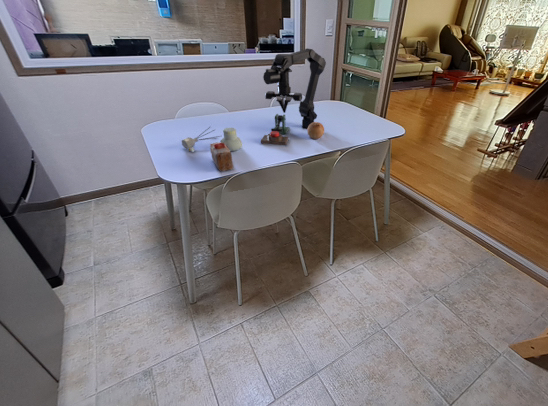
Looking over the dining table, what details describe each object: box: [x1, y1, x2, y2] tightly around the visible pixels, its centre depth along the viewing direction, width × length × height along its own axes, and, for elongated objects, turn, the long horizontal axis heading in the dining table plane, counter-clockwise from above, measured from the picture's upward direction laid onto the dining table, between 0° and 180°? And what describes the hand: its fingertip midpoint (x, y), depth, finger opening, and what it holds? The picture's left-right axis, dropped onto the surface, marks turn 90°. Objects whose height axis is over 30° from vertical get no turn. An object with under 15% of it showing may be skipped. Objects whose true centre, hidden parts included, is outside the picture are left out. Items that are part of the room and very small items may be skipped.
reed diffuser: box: [181, 126, 221, 153], centre depth 143 cm, size 10×7×20 cm
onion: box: [306, 121, 325, 140], centre depth 158 cm, size 10×9×10 cm
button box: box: [260, 133, 290, 146], centre depth 151 cm, size 13×8×4 cm, turn 86°
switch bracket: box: [273, 113, 290, 135], centre depth 163 cm, size 10×8×9 cm
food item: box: [209, 141, 234, 172], centre depth 124 cm, size 14×8×10 cm, turn 31°
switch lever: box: [270, 114, 283, 132], centre depth 159 cm, size 12×6×2 cm, turn 176°
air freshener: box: [220, 127, 243, 152], centre depth 138 cm, size 11×8×10 cm
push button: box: [269, 131, 279, 137], centre depth 149 cm, size 4×4×2 cm
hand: (284, 112), depth 155 cm, fingers closed
